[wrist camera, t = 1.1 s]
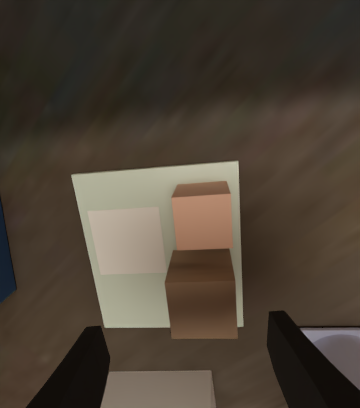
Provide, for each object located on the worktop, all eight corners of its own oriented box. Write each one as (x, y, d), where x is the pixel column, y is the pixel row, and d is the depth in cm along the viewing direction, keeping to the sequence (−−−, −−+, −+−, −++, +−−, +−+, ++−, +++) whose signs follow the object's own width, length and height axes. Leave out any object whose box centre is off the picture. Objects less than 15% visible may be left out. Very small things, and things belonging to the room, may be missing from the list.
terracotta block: (228, 226, 22) (232, 248, 18) (181, 229, 23) (177, 250, 19) (226, 180, 21) (230, 193, 17) (177, 184, 22) (171, 197, 18)
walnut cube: (231, 296, 24) (237, 338, 19) (178, 297, 25) (171, 338, 20) (229, 247, 23) (235, 280, 18) (172, 250, 23) (164, 282, 19)
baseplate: (242, 322, 26) (243, 327, 25) (107, 323, 27) (104, 328, 27) (237, 160, 21) (238, 161, 20) (74, 173, 23) (70, 175, 22)
